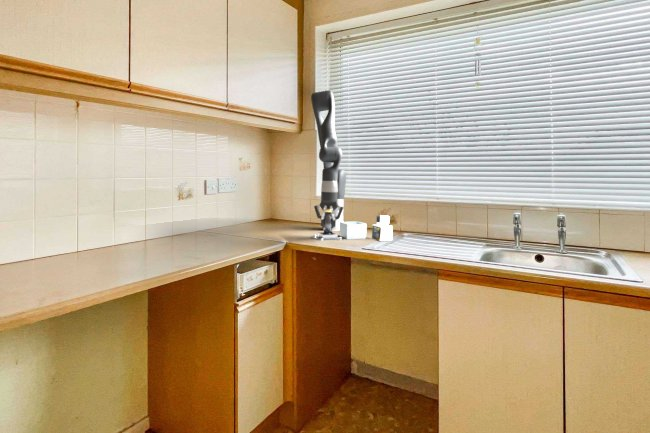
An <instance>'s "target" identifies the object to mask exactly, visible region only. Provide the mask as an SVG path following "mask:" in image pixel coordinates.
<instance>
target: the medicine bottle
mask: <svg viewBox="0 0 650 433" xmlns="http://www.w3.org/2000/svg"><path fill="white" fill-rule="evenodd" d="M389 224H390V216H389V215H386V214H379V215H376V224H372V225H371V226H372V228H371V230H372V231H371V239H372V240H375V241H377V242H392V241H393V231H394V230H393V229H394V228H393V225H389Z"/></svg>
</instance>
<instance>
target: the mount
mask: <svg viewBox="0 0 650 433" xmlns="http://www.w3.org/2000/svg"><path fill="white" fill-rule="evenodd" d="M316 234H317V235H316ZM316 234H313V235H312V236H311V237H312V238H314V239H315V240H318V241H320V242H321V241H345V238H343V237H340V236H338V235H339V234H337V233H335V232H333V231H332V234H331V235H324V231H322V232H319V231H318V232H317V233H316Z"/></svg>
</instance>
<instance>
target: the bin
mask: <svg viewBox="0 0 650 433" xmlns="http://www.w3.org/2000/svg"><path fill="white" fill-rule="evenodd" d="M367 230H368V225H367V223H365V222H361V221H343V222H340V231H339V234H338V235H339V236H338V237H340V238H342V239H346V240H358V239H359V240H361V239H367Z"/></svg>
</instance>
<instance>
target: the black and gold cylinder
mask: <svg viewBox="0 0 650 433" xmlns="http://www.w3.org/2000/svg"><path fill="white" fill-rule="evenodd" d="M324 211H325V216H324V228H323V232H324V235H331V234H332V232H333V231H332V220H333V218H332V214H331V212H332V210H331V209H328V208H327V209H325V210H324Z"/></svg>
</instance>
